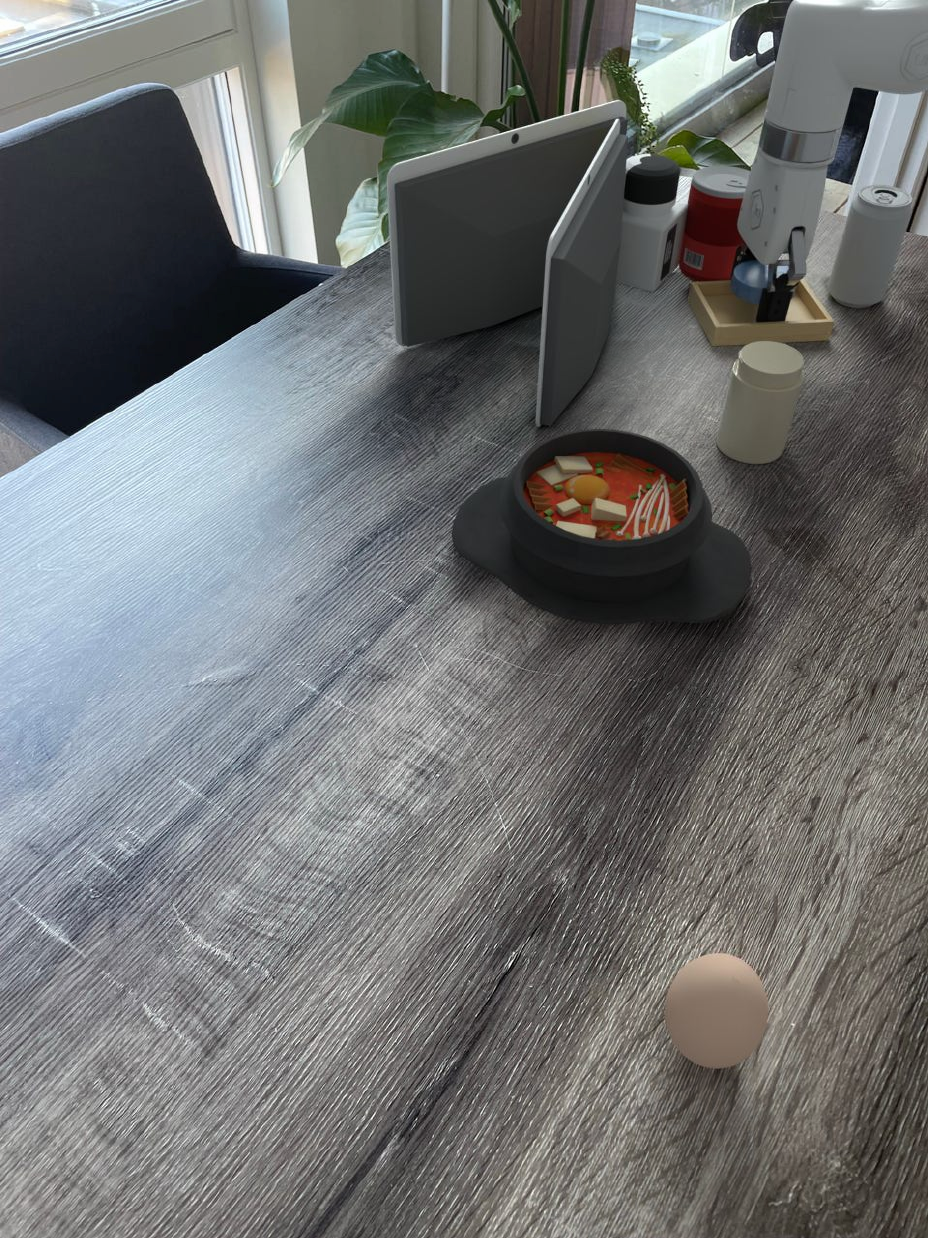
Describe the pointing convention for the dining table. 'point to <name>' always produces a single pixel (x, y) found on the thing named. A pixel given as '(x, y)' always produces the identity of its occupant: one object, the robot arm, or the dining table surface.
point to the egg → (716, 1010)
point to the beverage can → (870, 245)
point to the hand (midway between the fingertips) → (759, 303)
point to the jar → (760, 402)
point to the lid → (752, 280)
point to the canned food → (713, 224)
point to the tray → (736, 318)
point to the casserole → (605, 533)
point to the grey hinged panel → (515, 240)
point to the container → (650, 222)
